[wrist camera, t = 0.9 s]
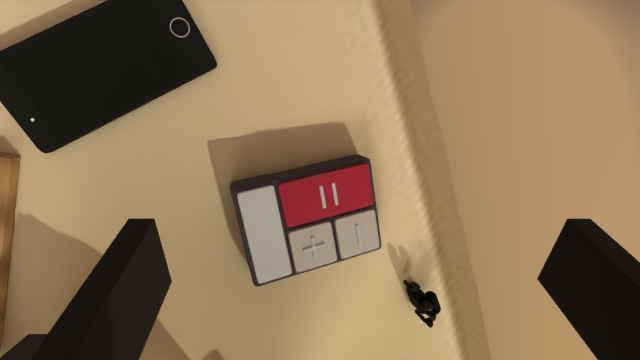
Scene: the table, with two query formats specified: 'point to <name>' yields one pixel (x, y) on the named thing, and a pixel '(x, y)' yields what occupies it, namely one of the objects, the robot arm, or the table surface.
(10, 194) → the board
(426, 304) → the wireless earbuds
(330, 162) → the calculator
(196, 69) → the cell phone
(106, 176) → the table surface
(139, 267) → the robot arm
